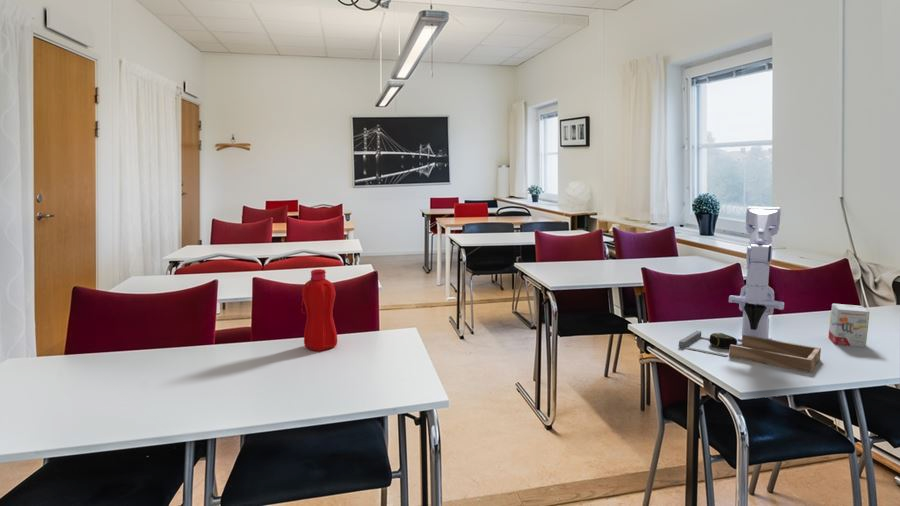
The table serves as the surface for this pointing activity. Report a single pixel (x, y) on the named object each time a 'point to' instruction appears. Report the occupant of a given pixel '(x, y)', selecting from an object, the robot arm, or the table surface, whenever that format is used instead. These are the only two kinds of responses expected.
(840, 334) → the ink box
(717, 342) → the tape measure
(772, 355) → the open frame
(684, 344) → the bay
